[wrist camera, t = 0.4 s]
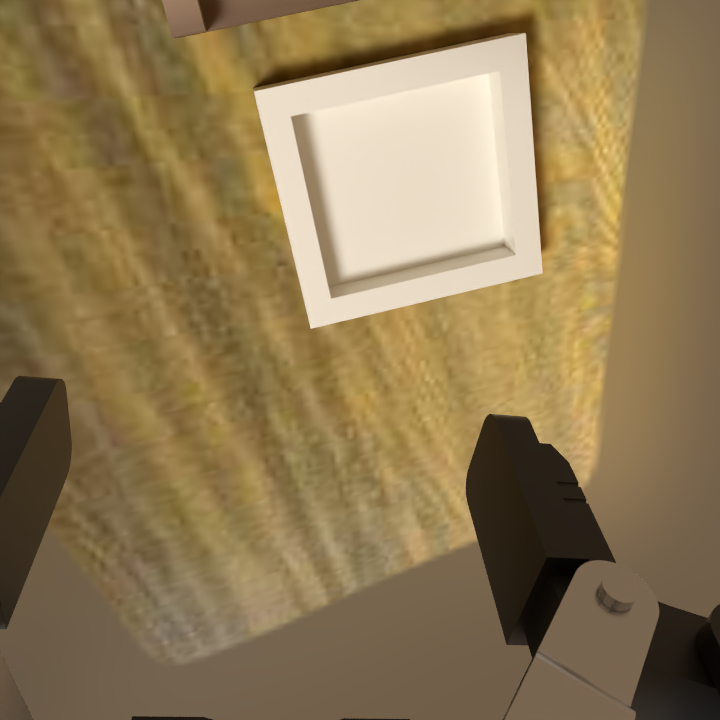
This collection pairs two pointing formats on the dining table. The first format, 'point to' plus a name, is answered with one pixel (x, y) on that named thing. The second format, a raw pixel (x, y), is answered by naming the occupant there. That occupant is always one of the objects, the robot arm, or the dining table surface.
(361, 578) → the dining table surface
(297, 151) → the tray
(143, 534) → the dining table surface
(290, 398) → the dining table surface
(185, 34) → the holder
